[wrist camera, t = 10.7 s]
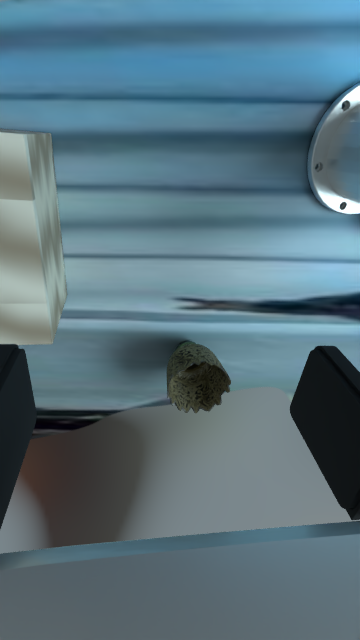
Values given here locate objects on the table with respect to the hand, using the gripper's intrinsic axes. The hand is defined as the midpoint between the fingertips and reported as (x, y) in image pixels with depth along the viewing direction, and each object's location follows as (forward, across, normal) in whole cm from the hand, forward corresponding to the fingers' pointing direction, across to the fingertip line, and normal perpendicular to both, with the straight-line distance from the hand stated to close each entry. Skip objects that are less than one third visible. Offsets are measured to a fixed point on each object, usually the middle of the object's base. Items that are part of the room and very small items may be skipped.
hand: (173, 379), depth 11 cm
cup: (+27, -6, +18) cm, 33 cm away
